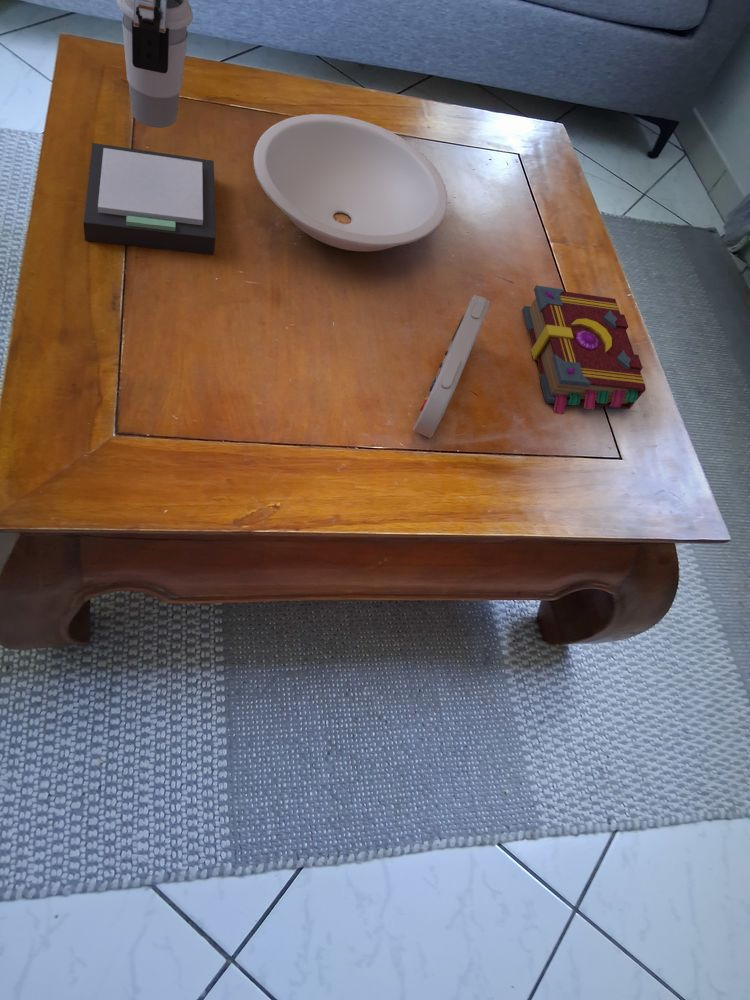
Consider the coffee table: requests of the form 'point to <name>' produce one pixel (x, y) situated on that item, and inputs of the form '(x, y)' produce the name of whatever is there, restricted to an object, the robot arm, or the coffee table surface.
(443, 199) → the white sink basin
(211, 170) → the scale
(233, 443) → the coffee table surface
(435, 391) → the game controller
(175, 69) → the cup
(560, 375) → the decorative book
